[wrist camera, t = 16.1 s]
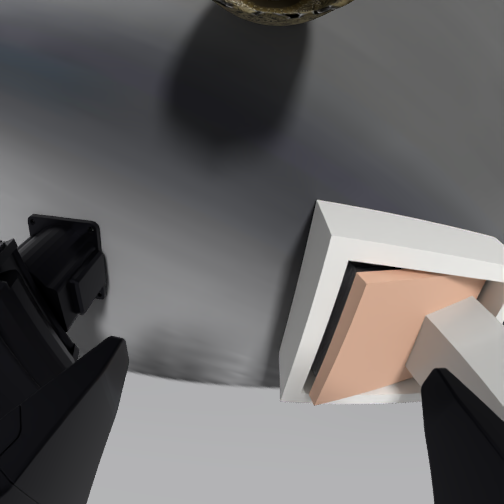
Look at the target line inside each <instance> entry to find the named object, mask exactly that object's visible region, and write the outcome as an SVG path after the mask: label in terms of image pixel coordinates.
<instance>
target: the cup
mask: <svg viewBox="0 0 504 504" xmlns="http://www.w3.org/2000/svg"><path fill="white" fill-rule="evenodd" d="M213 1H214V2H215V3H217V4H218V5H219V6H221V7H222V8H224V9H225V10H227V11H228V12H230V13H232V14H234V15H236V16H237V17H240V18H242V19H245V20H247V21H250V22H254V23H258V24H262V25H270V26H288V25H295V24H300V23H304V22H308V21H311V20H314V19H316V18H318V17H321V16H323V15H325V14H327V13H329V12H331V11H333V10H335V9H337V8H340V7H342V6H345V5H347V4H349V3H350V2H352V1H354V0H277V1H275V0H213Z"/></svg>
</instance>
